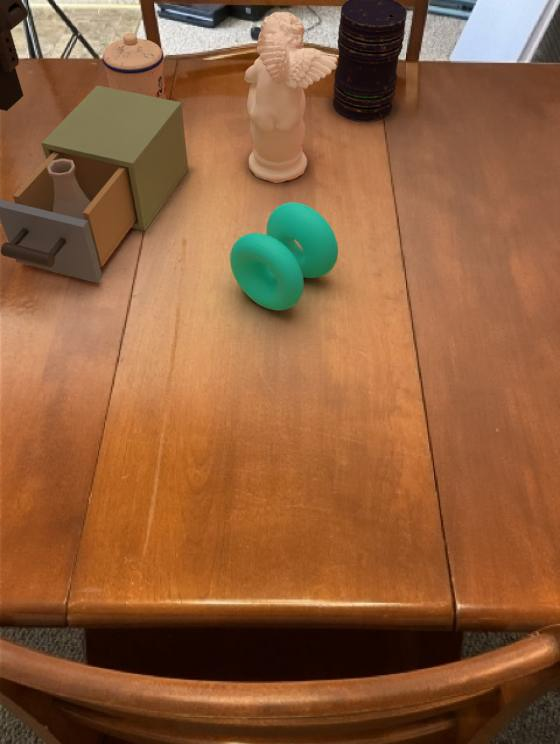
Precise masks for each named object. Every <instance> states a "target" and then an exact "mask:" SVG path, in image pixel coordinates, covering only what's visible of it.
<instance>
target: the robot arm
mask: <svg viewBox="0 0 560 744" xmlns="http://www.w3.org/2000/svg"><path fill="white" fill-rule="evenodd" d="M28 17H29V10H28V9H27V7H26V6H25V4H24V3H23V1H22V0H0V110H1V111H4V112H8V111H9V110H10V109H11V108H12V107H13V106H15V105H16V103H17V102H19V101H20V100H21V98H23V97H24V95H25V94H24V93H23V89H22V85H21V82H20V79H19V78H20V77H19V76H18V73H17V69H16V67H18V66H19V63H20V62H19V61H20V59H19V54H18V53H17V52H18V51H17V48H16V44H15V41H14V38H13V34H12V30H13V29H15V28H16V27H17V26H19V25H20V24H21V23H22V22H23V21H25V20H26V19H27V18H28Z"/></svg>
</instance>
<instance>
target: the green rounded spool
mask: <svg viewBox="0 0 560 744" xmlns="http://www.w3.org/2000/svg"><path fill="white" fill-rule="evenodd" d="M298 244H299V245H298ZM338 256H339V245H338V240H337V237H336V235H335V232H334V229H333V228H332V227H331V225H330V224H329V222H328V221H327V219H326V218H325V217H324V216H322V215H321V214H320V212H318V211H317V210H316V209H314V208H312V207H310V206H309V205H306V204H303V203H299V202H294V201H293V202H285V203H283V204H280V205H278V206H277V207H276V208H274V209H273V211H272V212H271V213H270V215H269V217H268V219H267V223H266V233H262V232H261V233H260V232H250V233H246V234H244V235H241V236H240V237H239V238H238V239H236V241H235V242H234V243H233V244H232V247H231V250H230V255H229V257H230V258H229V262H230V269H231V272H232V275H233V276H234V279H235V281H236V283H237V284H238V286H239V287H240V288H241V290H242V291H243V292H244V293H245V295H247V296H248V297H249V298H250V299H251V300H252V301H253V302H254V303H256V304H258V305H259V306H261V307H263V308H266V309H269V310H272V311H285V310H288V309H291V308H293V307H294V306H295V305H297V304H298V302H299V301H300V300H301V298H302V295H303V292H304V286H305V285H304V284H305V283H304V278H306V279H317V278H321V277H324V276H325V275H327V274H329V273H330V272H331V271H332V270H333V268H334V267H335V265H336V263H337V261H338Z"/></svg>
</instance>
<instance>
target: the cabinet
mask: <svg viewBox="0 0 560 744" xmlns="http://www.w3.org/2000/svg"><path fill="white" fill-rule="evenodd" d="M41 146H42V147H41V148H42V149H43V153H44V156H45V160H46V159H47V158H48V157H49V156H50V155H51V154H52V153H53V152H54V151H58V152H62V153H67V154H71V155H75V156H80V157H84V158H89V159H93V160H98V161H102V162H106V163H111V164H115V165H120V166H124V167H128V169H129V174H130V180H131V185H132V191H133V196H134V201H135V207H136V212H137V220H136V221H135V222H134V224H133V225H132V227H131V228H130V229H132V230H137V231H142V232H146V231H147V229H148V227H149V226H150V225H151V224H152V222H153V221H154V219H155V218H156V216H157V215H158V214H159V213H160V211H161V209H162V208H163V207H164V205H165V204H166V202H167V201H168V199H169V198H170V197H171V195H172V194H173V192H174V191H175V189H176V188H177V187H178V185H179V184H180V182H181V181H182V180H183V178H184V177H185V175H186V174H187V172H188V171H189V164H188V154H187V153H188V152H187V145H186V134H185V125H184V115H183V104H182V102H181V101H176V100H172V99H168V98H167V99H162V98H157V97H152V96H147V95H142V94H137V93H132V92H127V91H122V90H117V89H112V88H109V86H108V87H107V86H102V85H96V86H95V87H94V88H93V89H92V90H91V91H90V92H89V93H88V94H87V95H86V96H85V97H83V99H82V100H81V101H80V102H79V103H78V104H77V105H76V107H74V109H73V110H72V111H70V112H69V113H68V115H66V117H64V119H63V120H62V121H61V122H60V123H59V124H58V125H57V126H56V127H55V128H54V129H53V130H52V131H51V132H50V133H49V134H48V135H47V136H46V137H45V138H44V139H43V140H42V141H41Z"/></svg>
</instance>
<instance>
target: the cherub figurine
mask: <svg viewBox="0 0 560 744" xmlns="http://www.w3.org/2000/svg"><path fill="white" fill-rule="evenodd" d="M263 19H264V20H263V21H262V22H261V24H260V31H259V34H258V39H257V43H256V46H257V47H256V53H257V54H258V55H259V56H258V58H256V59H255V60H254V63H253V64H252V65H251V66H249V67H248V68H247V69H246V70H245V74H244V82H246V83H249V89H248V95H247V102H246V110H247V115H248V117H249V120H250V125H249V135H250V140H251V144H252V145H253V148H252V152H251V153H250V155H249V157H248V168H249V169H250V171H251V172H252V174H253V175H254V176H255V177H256V178H258V179H260V180H261V179H262V180H263V181H268V182H270V183H275V184H277V183H278V184H280V183H285V182H286V181H293V180H294V179H297V178H299V176H302V175H304V174H305V170H306V168H307V165H308V158H307V155H306V154H305V153H304V151H303V147H302V146H303V143H304V140H305V137H306V124H305V119H304V115H305V113H306V112H305V111H306V108H307V107H306V106H307V100H306V93H305V89H308V88H309V86H312V85H314V82H315V83H318V82H320V81H321V79H325V78H326V77H327V76H328V75H331V74H332V71H334V70H335V71H336V69H337V67H338V64H337V63H338V58H337V56H332V55H328V53H325V52H323V51H322V50H320V49H317V48H314V47H304V46H305V45H304V35H305V33H306V29H305V25H304V23H303V21H301V19H298V17H297V16H296V15H294V14H293V13H292V12H289V11H275V12H273V13H271V14H270V15H268V16H265V17H264V18H263Z"/></svg>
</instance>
